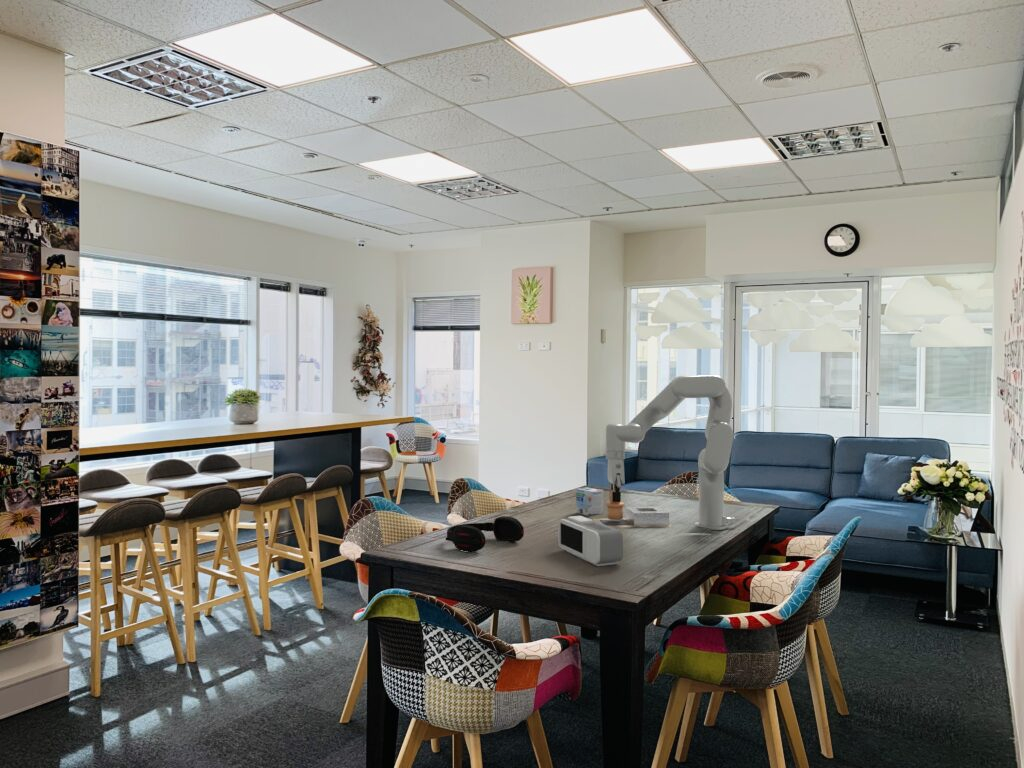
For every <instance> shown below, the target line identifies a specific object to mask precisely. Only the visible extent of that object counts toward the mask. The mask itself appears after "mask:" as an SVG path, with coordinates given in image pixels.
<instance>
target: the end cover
mask: <svg viewBox="0 0 1024 768" xmlns="http://www.w3.org/2000/svg"><path fill="white" fill-rule="evenodd" d="M612 492H613V490H610V489H609V501H606V502H605V506H607V507H606V508H607V511H606V512H607V518H606V519H613V520H619V519H623V518H624V517H623V516H624V514H623V513H624V512H623V511H624V509H623V508H624V507H626V506H625V505H626V504H625V502H623V501H621V502H613V501H612Z"/></svg>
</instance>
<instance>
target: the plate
mask: <svg viewBox="0 0 1024 768" xmlns="http://www.w3.org/2000/svg"><path fill="white" fill-rule="evenodd" d="M624 509H625V510H624V511H625V512H624V517H623V519H619V520H613V519H608V518H592V520H593V521H596V522H599V523H602V524H604V525H607V526H610V527H613V528H615V529H618V528H663V527H664V528H666V527H667V528H668V527H669V528H670V527H672V528H673V527H674V525H671V524H670V512H669V511H667V510H665V509H663V507H660V506H624Z"/></svg>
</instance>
